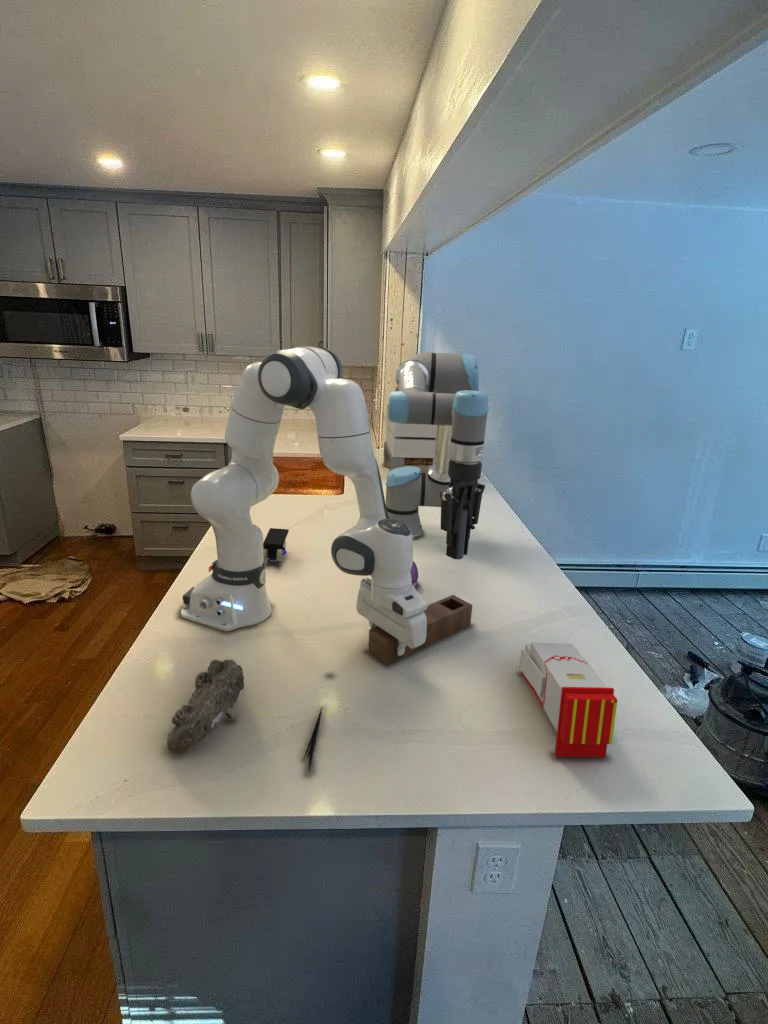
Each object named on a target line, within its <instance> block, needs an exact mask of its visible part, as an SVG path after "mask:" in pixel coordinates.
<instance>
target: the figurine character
mask: <svg viewBox="0 0 768 1024" xmlns="http://www.w3.org/2000/svg"><path fill="white" fill-rule="evenodd" d="M289 531H290V530H289V529H288V528H274V527H270V528H269V529H268V532H267V534H266V536H265V538H264V539H263V554H264V559H265V562H266V565H267V566H270V563H271V561H272V562H276V563H275V565H276V566H279V564H280V562H281V561H282V560H283V559H284V556H285V555H286V554H287V550H286V549H287V548H286V547H287V541H286V539H287V536H288V534H289Z"/></svg>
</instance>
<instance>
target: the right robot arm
mask: <svg viewBox="0 0 768 1024" xmlns="http://www.w3.org/2000/svg"><path fill="white" fill-rule="evenodd" d="M395 383H396V385H397V386H398V391H395V390H392V391H390V393H389V394H388V403H389V407H388V419H389V421H390V422H394V423H401V424H428V425H437V427H436V438H435V448H434V459H433V465H430V466H428V469H427V472H422V469H421V468H420V467H419V466H407V465H405V466H404V467H399V468H395V469H393V470H391V471H390V470H389V471H388V473H387V475H386V482H385V486H386V488H385V489H386V490H385V504H386V509H387V513H388V516H389V518H390V519H394V520H398V521H401V522H403V523H404V524H406V525H407V526H408V527H409V528H410V530H411V533H412V537H413V540H415V539H418V538H420V537H421V536H422V535H423V525H422V524H421V518H420V515H419V507H431V508H440V531H441V530H442V531H443V532H446V536H445V537H446V538H445V539H446V541H445V544H446V551H445V556H447V557H449V558H451V559H452V558H453V560H456V558H457V548H458V537H459V533H458V532H456V531H457V527H458V522H459V517H460V512H461V508H464V509H467V510H468V515H467V525H466V535H465V545H464V555H463V556H466V555H468V551H469V542H470V539H471V531H472V530H475V529H476V525H477V524H478V523H479V517H480V511H481V504H482V499H483V494H484V491H485V489H486V485H485V484H483V483H480V482H478V480H479V479H481V477H482V469H483V468H482V467H483V463H482V461H483V456H484V446H485V437H486V430H487V429H486V427H487V420H488V412H489V394H488V393H486V392H484V391H481V390H480V374H479V363H478V359H477V357H476V356H475V355H474V354H465V353H449V352H448V353H447V352H430V351H429V352H427V351H426V352H421V353H417V354H413V355H410V357H407V358H405V359H404V360H403V361H402V362H401V363H400V364H399V365H398V367H397V369H396V371H395Z"/></svg>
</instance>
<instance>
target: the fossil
mask: <svg viewBox="0 0 768 1024" xmlns="http://www.w3.org/2000/svg"><path fill="white" fill-rule="evenodd" d="M243 670H244V669H243V667H242V665H240V664H237V662H236V661H235V660H234V659H232V658H231V659H227V658H226V659H224V660H223V661H222V660H217V659H212V660H211V661H210V663H209V665H208V666H207V671H201V672H199V673H198V674H197V675H196V676H195V680H194V684H195V685H194V687H195V689H194V690H193V693H192V694H191V697H190V698H189V700H188V704H184V705H182V706H181V707H180V709H177V710H176V711H175V713H174V715H173V716H172V718H171V723H172V724H173V727H172V730H171V731H170V732H168V734H167V738H166V741H167V742H166V745H167V749H168V750H169V751H173V752H174V753H176V754H178V753H182V752H188V751H189V752H192V751H193V750H195V748H196V747H197V746H199V744H200V743H201V742H203V741H204V740H205V739H206V738H207V737H208V736H209V735H210V734H211V733H212V732H214V730H215V729H217V727H218V726H219V724H220V722H221V721H222V720H223V719H224V718H225V716H226V717H227V719H229V720H233V717H232V715H230V714H229V710H230V709H231V708H234V706H235V704H236V703H237V702H238V699H239V697H240V695H241V693H242V691H243V690H245V689H244V688H245V675H244V671H243Z"/></svg>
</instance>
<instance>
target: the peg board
mask: <svg viewBox="0 0 768 1024" xmlns="http://www.w3.org/2000/svg"><path fill="white" fill-rule="evenodd" d="M424 613H425V615H426V618H427V633H426V641H425V642H424V643H423V644H422V645H420V646H418V647H416V648H414V649H412V648H410V647H408V646H406V647H405V653H404V654H403V655H401V656H399V655H397V654H396V653H395V647H396V646H398V645H400V644H399V643H398V639H396V638H395V637H393V636H392V635H390V634H389V633H387V632H386V631H384V630H383V629H381V628H380V627H378V626H376V627H374V628H369V629H368V647H367V648H368V649H367V651H368V653H369V654H371V655H372V656H373V657H374V658H376V659H377V660H378V661H380V662H381V663H383V664H384V665H385V666H389V665H391V664H393V663H395V662H397V661H399V660H402V659H403V658H405V657H408V656H410V655H412V654H415V653H416V652H418V651H420V650H422V649H425V648H426V647H429V646H431V645H433V644H435V643H437V642H440V641H442V640H444V639H446V638H448V637H451V636H452V635H455V634H456V633H458V632H461V631H462V630H464V629H466V628H467V629H468V628H469V627H471V624H472V623H471V622H472V613H473V604H472V603H470V602H468V601H466V600H464V599H462V598H460V597H459V596H457V595H454V594H452V595H449V596H446V597H444V598H442V599H440V600H437V601H435V602H431V603H430V604H427V609H426V610H425V611H424Z"/></svg>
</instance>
